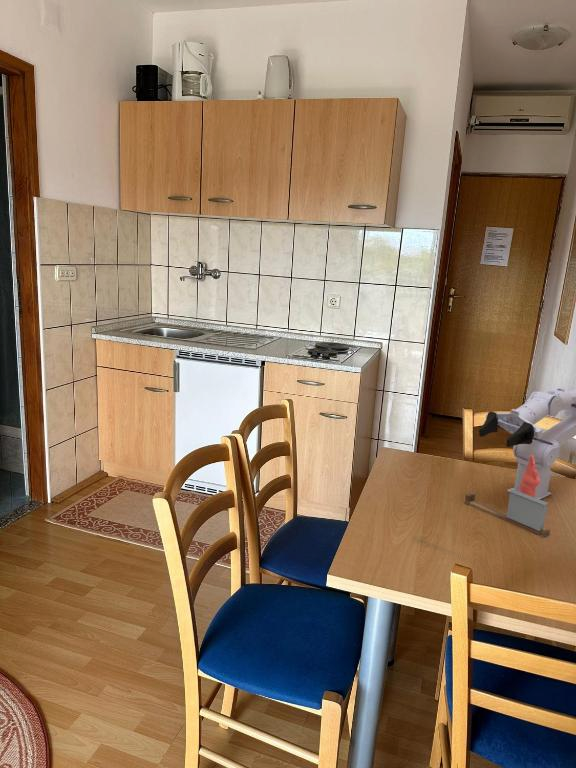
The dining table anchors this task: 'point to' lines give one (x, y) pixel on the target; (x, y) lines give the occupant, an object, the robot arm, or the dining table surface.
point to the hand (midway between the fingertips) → (493, 438)
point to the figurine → (530, 479)
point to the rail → (501, 514)
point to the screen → (527, 510)
